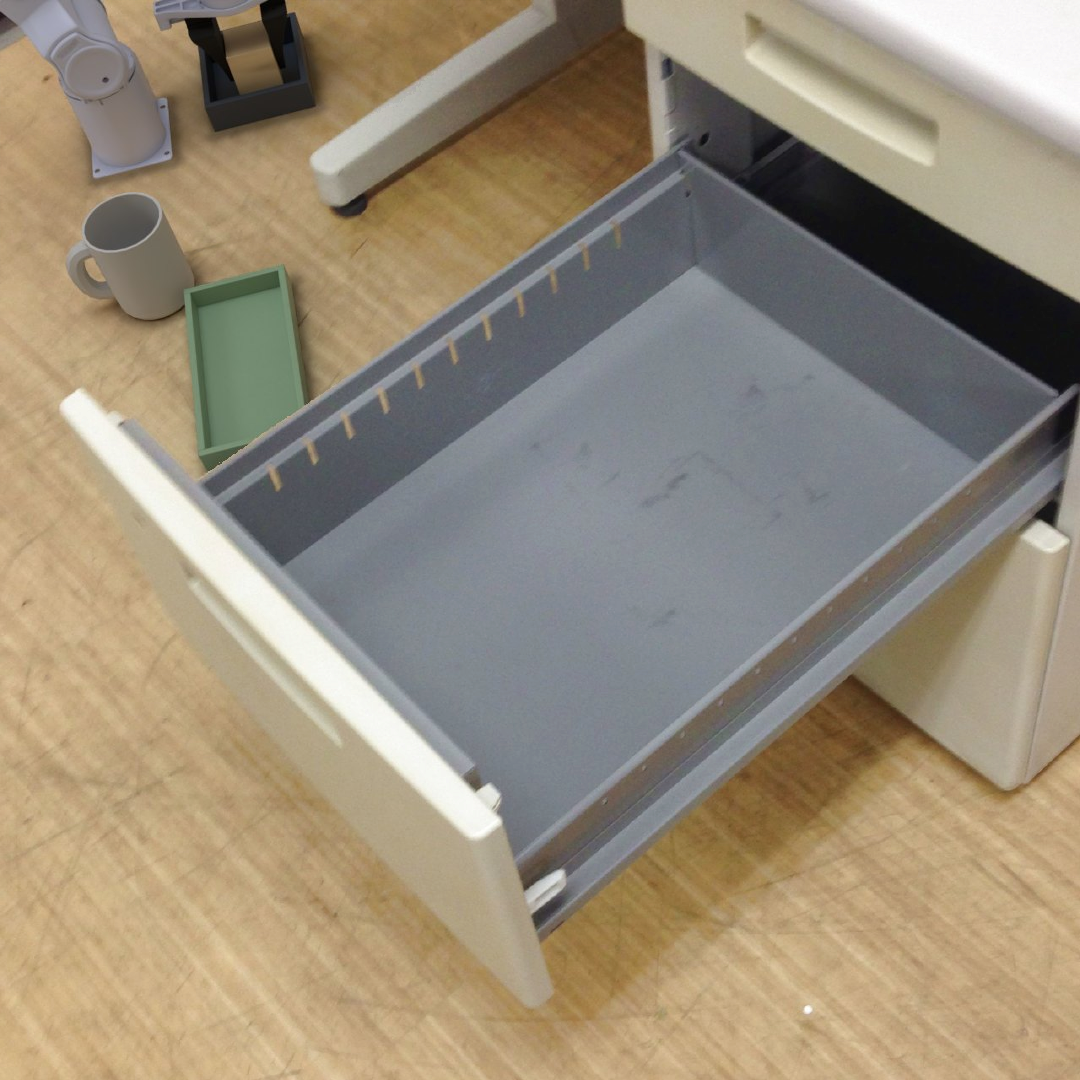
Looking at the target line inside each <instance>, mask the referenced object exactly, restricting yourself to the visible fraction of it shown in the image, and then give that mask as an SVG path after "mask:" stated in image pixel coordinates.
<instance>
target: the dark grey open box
mask: <svg viewBox="0 0 1080 1080" xmlns="http://www.w3.org/2000/svg"><path fill="white" fill-rule="evenodd" d="M259 21H262V19H261V20H257V21H253V22H250V23H249V22H248V23H245V24H242V25H237V26H234V27H230V28H226V29H225V30H227V29H231V28H235V27H239V26H243V25H247V24H251V23H255V22H259ZM223 30H224V29H223ZM223 30H220V31H221V34H222V36H223ZM223 39H224V38H223ZM197 50H198V59H199V60H198V61H199V69H200V77H201V85H202V94H203V104H204V109H205V112H206V114H207V117H208V119H209V121H210V123H211V126H212V130H213V131H214V133H217V132H222V131H225V130H230V129H233V128H237V127H242V126H245V125H249V124H252V123H257V122H261V121H265V120H269V119H273V118H277V117H280V116H284V115H288V114H289V115H290V114H291V113H296V112H299V111H303V110H308V109H311V108H316V101H315V94H314V89H313V84H312V78H311V71H310V67H309V66H310V65H309V61H308V56H307V51H306V43H305V39H304V35H303V31H302V29H301V26H300V23H299V20H298V16H297V13H296V12H295V11H291V12H287V21H286V25H285V30H284V37H283V54H284V58H285V64H286V68H283V69H281V71H282V77H283V84H282V85H278V86H274V87H270V88H266V89H263V90H259V91H255V92H251V93H247V94H243V95H240V93H239V91H238V88H237V86H236V83H235V81H232V82H231V81H230V80H229V78H228V77H227V75H226V74H225V72H224V71H223V69H222V68H221V67H220V66H219V65H218V63H217V62H216V61H215V60H214V59H213V58H212V57H211V56H210V55H209V54H208V53H207V52H205V51H204V50H203V49H201V48H200V47H199V46H197Z"/></svg>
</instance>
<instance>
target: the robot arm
mask: <svg viewBox="0 0 1080 1080" xmlns="http://www.w3.org/2000/svg"><path fill="white" fill-rule="evenodd" d="M256 6H259V12H260V19H261V20H262V22H263V25H264V27H265V29H266V31H267V34H268V36H269V39H270V41H271V44H272V47H273V51H274V55H275V58H276V61H277V63H278V66H279V68H280V69H283V68H286V64H285V58H284V54H283V37H284V30H285V25H286V21H287V14H288V8H287V2H286V0H155V1H153V2H152V7H153V8H152V9H153V16H154V18H155V21H156V23H157V25H158V27H159V30H160V31H161V32H163V31H167V30H171V29H172V28H173V25H175V24H179V23H182V22H184V23H185V25H186V29H187V34H188V37H189V39H190V40H191V42H192V44H194V45H195V46H197V47H198V46H199V47H200V48H201V49H203V50H204V51H205V52H207V53H208V54H209V55H210V56H211V57H212V58H213V59H214V60H215V61H216V62H217V63H218V65H219V66H220V67H221V68H222V69H223V71H224V72H225V74H226V75H227V77H228V78H229V80H230V81H231V82H232V81H235V80H234V78H233V75H232V72H231V70H230V67H229V65H228V62H227V59H226V53H225V45H224V39H223V36H222V34H221V31H222V30H221V28H220V26H219V23H218V19H217V18H228V17H233V16H237V15H240V14H243V13H245V12H247V11H248V10H250V9H253V8H256ZM0 12H1V13H2V14H3V15H4V16H6V18H8V19H9V20H11V21H12V22H13V23H15V25H16V26H18V27H19V28H20V30H21V31H22V32H23V34H24V35H25V36H26V38H27V39H28V40H29V41H30V43H31V44H32V45H33V47H34V48H35V49H36V51H37V52H38V53H39V55H40V56H41V57H42V58H43V60H45V61H47V63H48V64H50V65H51V66H52V67H53V68H54V69H55V71H56V72H57V74H58V77H57V78H58V82H59V85H60V87H61V89H62V91H63V93H64V95H65V97H66V99H67V101H68V103H69V105H70V107H71V109H72V111H73V113H74V115H75V117H76V118H77V119H76V120H77V121H78V122H79V124H80V127H81V129H82V130H83V133H84V134H85V136H86V138H87V140H88V142H89V144H90V146H91V147H90V148H91V167H92V169H91V170H92V177H93V179H95V180H98V179H102V178H106V177H111V176H114V175H118V174H122V173H126V172H130V171H134V170H138V169H142V168H146V167H149V166H153V165H157V164H161V163H165V162H169V161H171V160H172V159H173V157H174V154H173V145H172V143H173V142H172V133H171V123H170V113H169V102H168V101H169V100H168V98H166V97H159V98H157V97H156V94H155V93H154V90H153V88H152V86H151V84H150V82H149V79H148V77H147V75H146V73H145V70H144V68H143V66H142V64H141V62H140V60H139V56H137V55H138V54H136V52H135V51H134V50H133V49H132V48H131V46H128V45H127V44H126V43H124V42H122V41H121V40H120V41H119V39H118V37H117V35H116V32H115V30H114V29H113V25H112V24H111V22H110V19H109V17H108V12H107V8H106V5H105V4H104V2H103V1H102V0H0ZM163 107H164V108H163ZM167 153H168V154H167Z"/></svg>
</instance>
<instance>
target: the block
mask: <svg viewBox="0 0 1080 1080" xmlns="http://www.w3.org/2000/svg"><path fill="white" fill-rule="evenodd" d="M258 21H259V22H257V21H254V22H255V23H253V22H250V23H251V24H249V23H246V24H247V25H245V24H242V25H243V26H241V25H238V26H239V27H237V26H234V27H235V28H233V27H230V28H231V29H229V28H226V29H227V30H226V29H223V38H224V45H225V53H226V59H227V62H228V65H229V67H230V70H231V72H232V75H233V78H234V80H235V83H236V86H237V88H238V91H239V93H240V95H243V94H247V93H251V92H255V91H259V90H263V89H266V88H270V87H274V86H278V85H282V84H283V77H282V71H281V69H280V68H279V66H278V63H277V61H276V58H275V55H274V51H273V47H272V44H271V41H270V39H269V36H268V34H267V31H266V29H265V27H264V25H263V22H262V21H261V20H258Z"/></svg>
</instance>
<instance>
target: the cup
mask: <svg viewBox="0 0 1080 1080" xmlns="http://www.w3.org/2000/svg"><path fill="white" fill-rule="evenodd" d="M80 235H81V238H82V240H79V241H78V242H76V243H75V244H73V245H72V247H71V248H70V250H69V251H68V253H67V255H66V258H65V268H66V272H67V274H68V277H69V278H70V280H71V281H72V283H73V284H74V285H75V286H76V287H77V288H78V290H79V291H80V292H81V293H83V294H84V295H86V296H88V297H89V298H91V299H94V300H98V301H103V300H111V299H115V300H116V301H117V303H118V304H119V306H120V307H121V309H122V310H123V311H124V313H126V314H127V315H129V316H131V317H133V318H135V319H139V320H144V321H153V320H159V319H164V318H166V317H168V316H171V315H173V314H175V313H176V312H177V311H179V310H181V309H182V308H183V307H184V306H185V301H184V289H188V288H192V287H195V275H194V273H193V271H192V268H191V265H190V264H189V261H188V259H187V257H186V255H185V253H184V251H183V249H182V246H181V245H180V243H179V240H178V239H177V236H176V234H175V233H174V231H173V228H172V226H171V224H170V222H169V220H168V218H167V216H166V214H165V212H164V210H163V208H162V206H161V204H160V202H159V201H158V200H157V199H156V198H155V197H154V196H152V195H149V194H148V193H144V192H139V191H127V192H122V193H117V194H115V195H113V196H110V197H107V198H106V199H104V200H103V201H101V202H98V204H97V205H95V206H94V207H93V208H92V209H91V210H90V211H89V212H88V214H87V215H86V216H85V218H84V219H83V222H82V225H81V233H80ZM89 259H93V261H95V264H96V266H97V268H98V269H99V271H100V273H101V276H103V278H104V280H105V281H104V280H103V281H102V280H101V281H99V280H97V279H95V278H93V277H92V276H91V275H90V274H89V271H88V270H87V267H86V264H85V263H86V261H87V260H89Z"/></svg>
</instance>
